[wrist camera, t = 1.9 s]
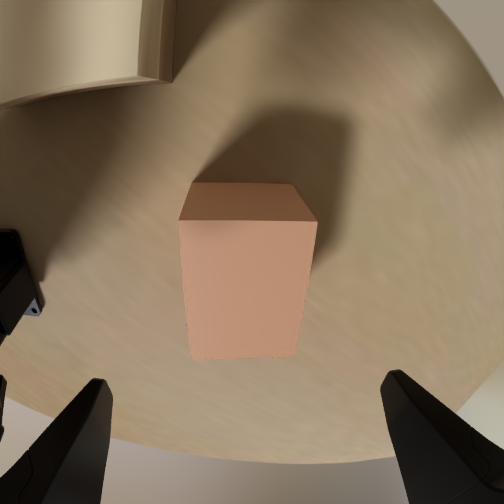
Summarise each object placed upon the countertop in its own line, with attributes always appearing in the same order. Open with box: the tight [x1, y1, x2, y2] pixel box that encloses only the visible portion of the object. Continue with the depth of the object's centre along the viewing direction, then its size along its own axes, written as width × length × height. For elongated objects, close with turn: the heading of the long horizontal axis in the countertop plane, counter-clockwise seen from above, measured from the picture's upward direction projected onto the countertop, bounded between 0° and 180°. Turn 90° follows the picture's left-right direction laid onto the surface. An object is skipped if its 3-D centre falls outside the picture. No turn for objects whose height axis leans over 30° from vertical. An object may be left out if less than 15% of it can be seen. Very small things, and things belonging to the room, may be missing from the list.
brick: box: [178, 183, 318, 359], centre depth 15 cm, size 5×7×5 cm
